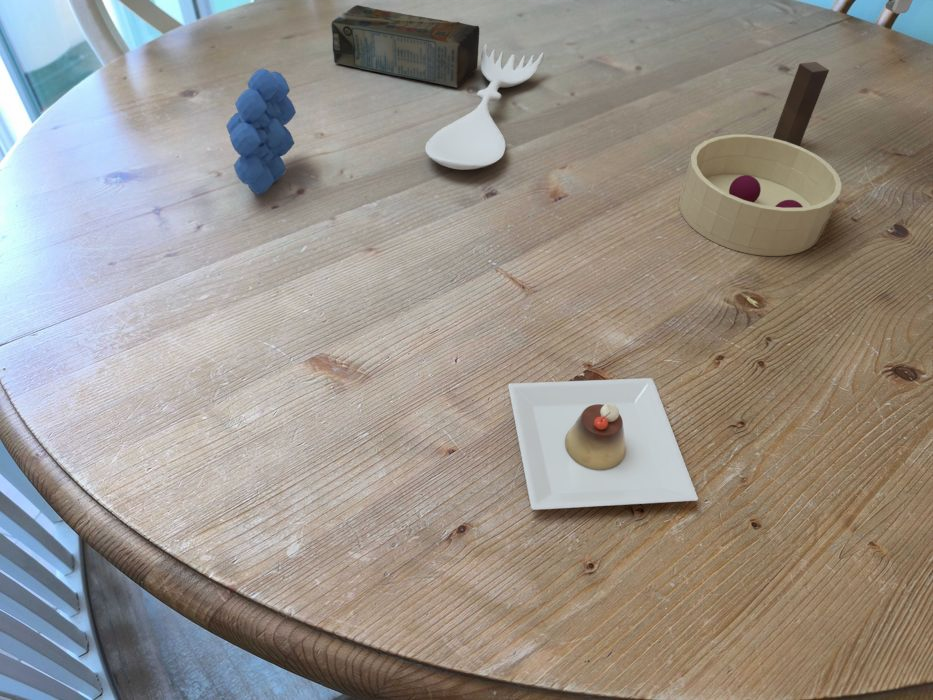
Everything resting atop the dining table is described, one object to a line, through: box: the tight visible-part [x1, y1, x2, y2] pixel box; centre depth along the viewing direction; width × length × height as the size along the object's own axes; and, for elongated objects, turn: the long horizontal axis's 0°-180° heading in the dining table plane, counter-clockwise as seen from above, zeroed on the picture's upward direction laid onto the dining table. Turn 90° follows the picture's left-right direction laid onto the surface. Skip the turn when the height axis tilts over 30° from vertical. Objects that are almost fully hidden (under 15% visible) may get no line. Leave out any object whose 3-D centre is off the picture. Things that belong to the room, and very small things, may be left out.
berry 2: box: [775, 200, 803, 208], centre depth 78 cm, size 3×3×3 cm
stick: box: [772, 61, 830, 147], centre depth 90 cm, size 2×2×10 cm
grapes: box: [226, 67, 297, 195], centre depth 78 cm, size 12×7×12 cm, turn 166°
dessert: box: [507, 377, 699, 511], centre depth 56 cm, size 12×12×5 cm
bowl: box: [678, 133, 843, 257], centre depth 80 cm, size 15×15×6 cm
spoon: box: [424, 43, 545, 171], centre depth 94 cm, size 9×32×4 cm, turn 165°
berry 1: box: [729, 175, 761, 203], centre depth 81 cm, size 3×3×3 cm
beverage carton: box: [330, 4, 480, 89], centre depth 103 cm, size 8×19×7 cm, turn 70°
